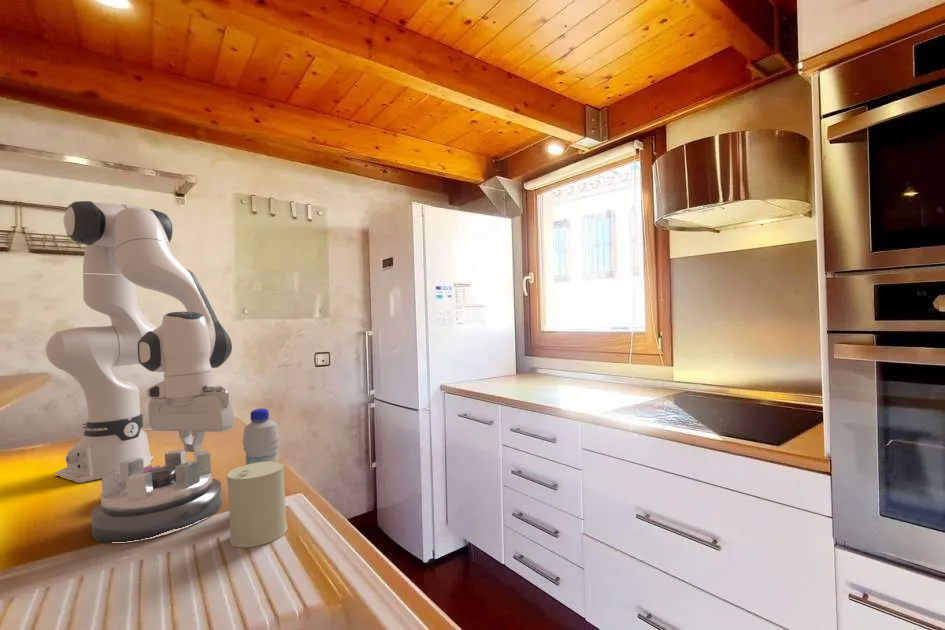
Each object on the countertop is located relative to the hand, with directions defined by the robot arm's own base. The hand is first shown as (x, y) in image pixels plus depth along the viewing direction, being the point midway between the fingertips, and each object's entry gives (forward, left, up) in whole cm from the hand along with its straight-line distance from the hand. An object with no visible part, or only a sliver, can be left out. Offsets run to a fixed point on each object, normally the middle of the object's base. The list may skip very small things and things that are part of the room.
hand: (193, 451), depth 96 cm
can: (+26, -9, -11) cm, 29 cm away
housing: (0, -7, -11) cm, 13 cm away
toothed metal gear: (0, -7, -7) cm, 10 cm away
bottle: (+18, +1, -11) cm, 21 cm away
